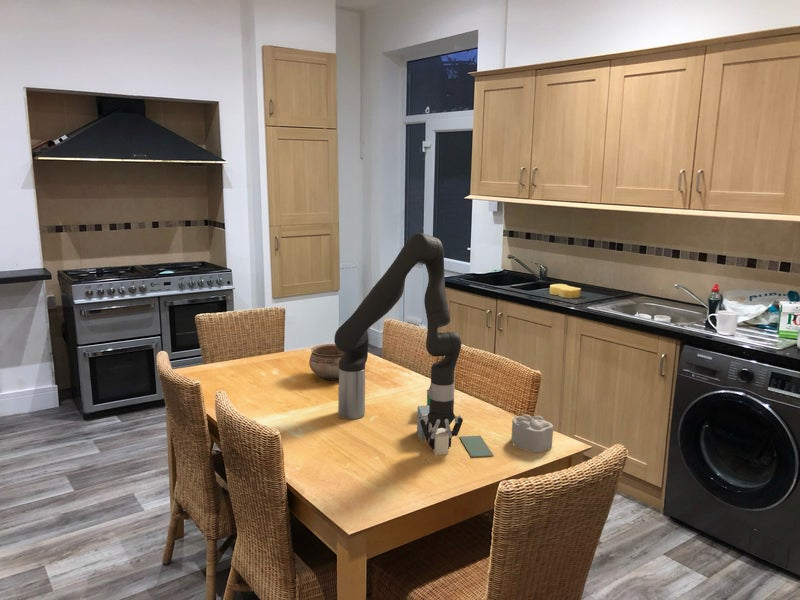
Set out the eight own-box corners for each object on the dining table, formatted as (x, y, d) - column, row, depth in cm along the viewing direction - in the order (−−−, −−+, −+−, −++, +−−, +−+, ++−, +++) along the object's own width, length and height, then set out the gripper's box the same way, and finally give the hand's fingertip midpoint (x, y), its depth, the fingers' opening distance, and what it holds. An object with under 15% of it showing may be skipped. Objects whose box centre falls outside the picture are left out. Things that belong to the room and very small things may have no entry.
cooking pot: (367, 381, 262) (368, 352, 260) (328, 390, 251) (328, 360, 248) (335, 366, 281) (335, 339, 279) (297, 374, 270) (297, 346, 268)
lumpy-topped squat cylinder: (535, 454, 197) (537, 428, 195) (503, 441, 207) (504, 415, 205) (556, 446, 203) (557, 420, 202) (524, 433, 213) (525, 408, 211)
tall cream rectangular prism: (435, 455, 195) (435, 436, 194) (427, 439, 207) (427, 421, 206) (448, 454, 196) (449, 436, 195) (439, 438, 208) (440, 421, 206)
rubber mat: (471, 457, 194) (471, 456, 194) (459, 437, 208) (459, 436, 208) (493, 456, 195) (493, 455, 195) (480, 436, 209) (480, 435, 209)
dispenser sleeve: (421, 441, 204) (422, 415, 203) (417, 431, 213) (417, 405, 211) (449, 440, 206) (450, 414, 204) (443, 430, 214) (444, 404, 212)
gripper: (421, 401, 190) (419, 454, 194) (467, 399, 192) (465, 452, 196) (416, 392, 197) (415, 444, 201) (461, 391, 200) (459, 442, 203)
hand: (440, 448), depth 198 cm, fingers closed on tall cream rectangular prism, 4 cm apart
